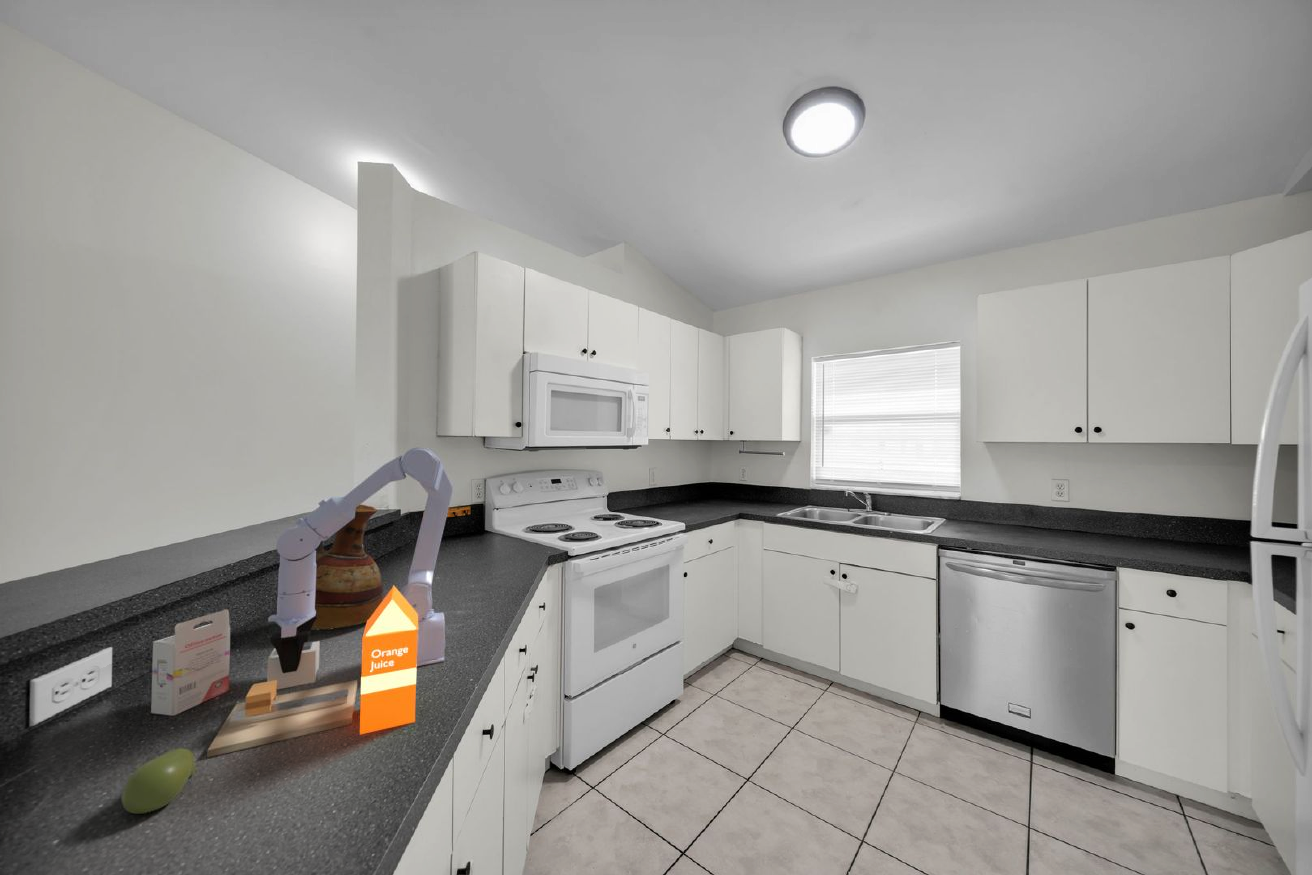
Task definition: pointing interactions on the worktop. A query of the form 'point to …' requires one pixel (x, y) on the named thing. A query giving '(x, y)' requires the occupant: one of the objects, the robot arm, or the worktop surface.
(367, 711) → the orange juice
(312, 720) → the mounting board
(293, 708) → the steel rail
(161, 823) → the worktop surface
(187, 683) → the ink cartridge box
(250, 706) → the block
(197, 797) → the worktop surface
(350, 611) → the ceramic pitcher
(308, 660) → the block
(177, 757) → the olive green oval piece
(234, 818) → the worktop surface
